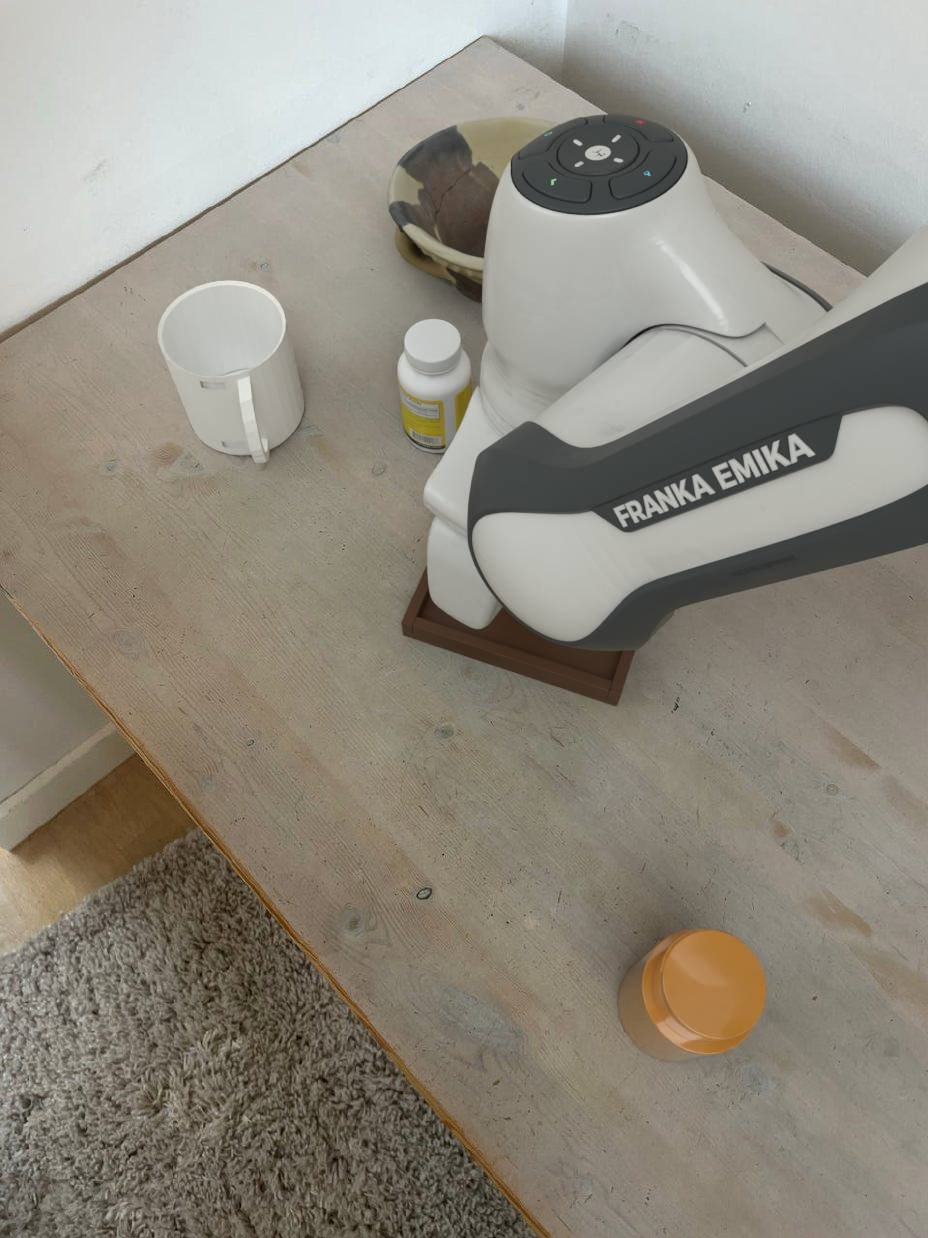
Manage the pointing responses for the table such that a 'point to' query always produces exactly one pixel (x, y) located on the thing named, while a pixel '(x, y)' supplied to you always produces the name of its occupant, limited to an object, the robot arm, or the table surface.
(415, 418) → the supplement bottle
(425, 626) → the walnut tray
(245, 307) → the mug
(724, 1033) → the jam jar
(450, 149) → the bowl
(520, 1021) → the table surface
